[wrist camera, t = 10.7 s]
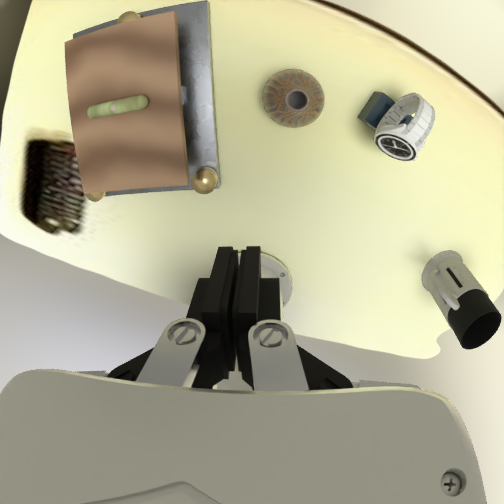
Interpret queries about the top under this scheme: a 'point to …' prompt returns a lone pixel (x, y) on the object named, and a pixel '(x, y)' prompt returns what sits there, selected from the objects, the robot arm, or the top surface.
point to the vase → (293, 98)
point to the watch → (399, 123)
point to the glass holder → (461, 299)
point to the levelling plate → (135, 130)
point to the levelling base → (187, 96)
